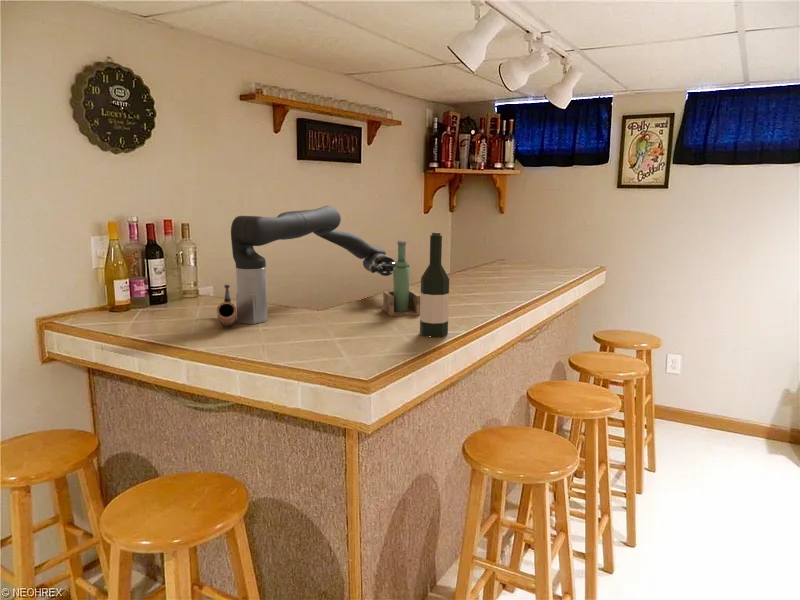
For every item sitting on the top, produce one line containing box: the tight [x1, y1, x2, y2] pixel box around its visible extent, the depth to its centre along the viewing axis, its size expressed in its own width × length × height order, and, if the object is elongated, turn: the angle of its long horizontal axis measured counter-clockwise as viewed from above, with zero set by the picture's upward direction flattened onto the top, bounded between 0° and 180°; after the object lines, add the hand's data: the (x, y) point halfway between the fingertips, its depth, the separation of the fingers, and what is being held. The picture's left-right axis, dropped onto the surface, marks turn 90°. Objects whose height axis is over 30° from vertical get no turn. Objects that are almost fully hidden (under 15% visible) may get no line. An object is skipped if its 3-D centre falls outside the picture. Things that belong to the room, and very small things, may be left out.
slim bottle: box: [392, 240, 411, 312], centre depth 203 cm, size 6×6×24 cm
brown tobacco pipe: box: [216, 284, 237, 327], centre depth 186 cm, size 5×29×10 cm, turn 15°
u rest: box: [382, 289, 421, 317], centre depth 204 cm, size 10×10×7 cm
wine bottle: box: [419, 231, 450, 338], centre depth 173 cm, size 8×8×30 cm
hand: (393, 270), depth 213 cm, fingers open, 8 cm apart
